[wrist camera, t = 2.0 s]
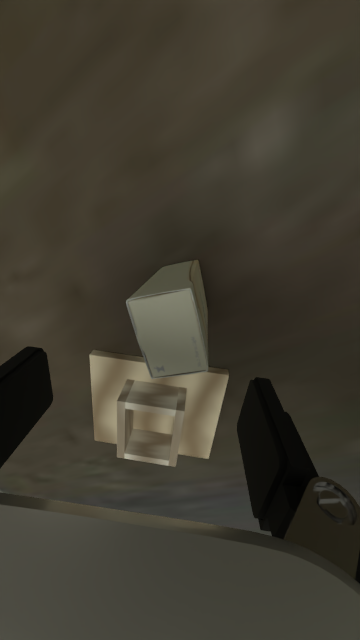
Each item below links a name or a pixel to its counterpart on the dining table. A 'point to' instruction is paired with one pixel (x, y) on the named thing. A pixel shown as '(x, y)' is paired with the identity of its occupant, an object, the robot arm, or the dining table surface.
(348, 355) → the dining table surface
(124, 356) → the socket stand
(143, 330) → the skincare box
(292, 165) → the dining table surface
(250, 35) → the dining table surface
